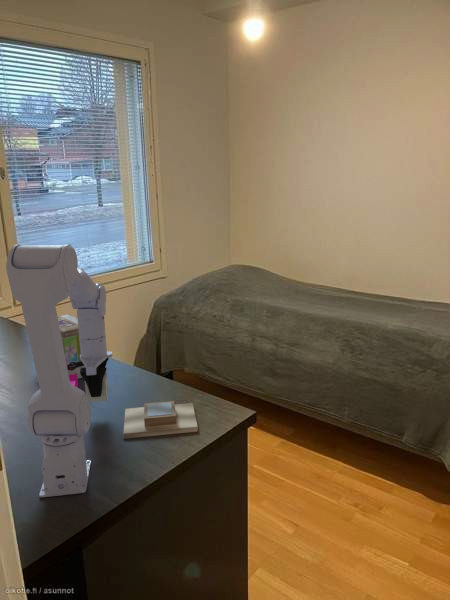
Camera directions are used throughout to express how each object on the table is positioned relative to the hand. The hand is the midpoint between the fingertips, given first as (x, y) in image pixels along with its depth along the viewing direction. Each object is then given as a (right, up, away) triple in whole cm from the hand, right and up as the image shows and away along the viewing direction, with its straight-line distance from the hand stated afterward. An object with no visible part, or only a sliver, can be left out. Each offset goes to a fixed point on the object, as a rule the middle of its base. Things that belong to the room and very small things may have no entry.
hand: (97, 391), depth 108 cm
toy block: (-12, -3, +14) cm, 19 cm away
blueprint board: (+15, -7, -1) cm, 16 cm away
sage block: (0, -1, 0) cm, 2 cm away
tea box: (-15, +1, +27) cm, 31 cm away
